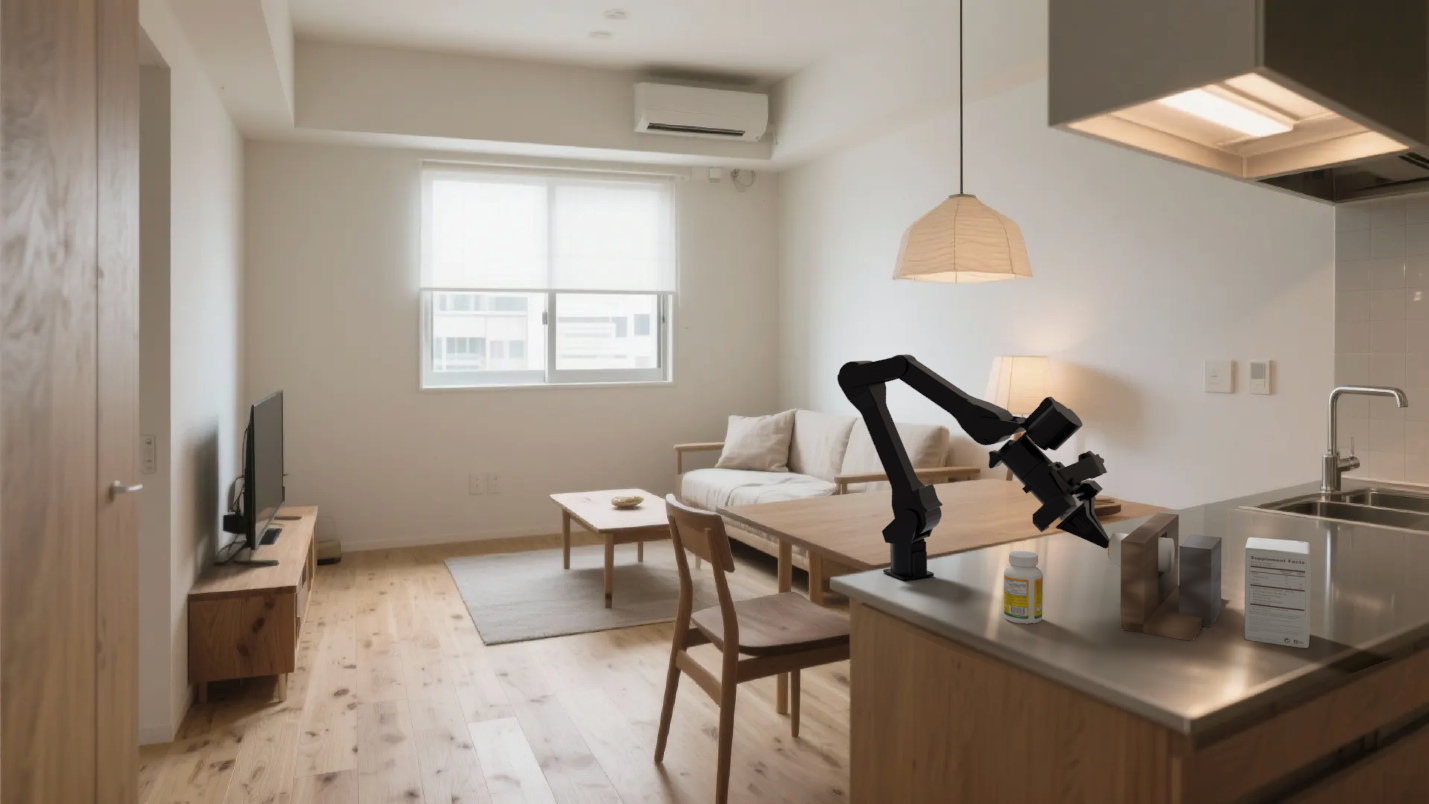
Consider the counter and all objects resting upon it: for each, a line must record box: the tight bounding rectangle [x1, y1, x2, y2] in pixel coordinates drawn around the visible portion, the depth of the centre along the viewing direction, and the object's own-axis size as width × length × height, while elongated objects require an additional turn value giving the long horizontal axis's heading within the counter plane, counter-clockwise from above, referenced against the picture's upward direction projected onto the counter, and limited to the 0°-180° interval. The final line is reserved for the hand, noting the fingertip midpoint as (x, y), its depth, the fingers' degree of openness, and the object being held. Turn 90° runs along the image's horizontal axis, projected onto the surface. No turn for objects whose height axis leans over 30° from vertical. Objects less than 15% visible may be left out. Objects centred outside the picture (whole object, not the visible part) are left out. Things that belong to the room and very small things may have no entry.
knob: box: [1107, 532, 1175, 573], centre depth 135 cm, size 8×5×5 cm, turn 53°
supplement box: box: [1244, 536, 1311, 649], centre depth 121 cm, size 7×7×13 cm
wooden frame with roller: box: [1120, 512, 1223, 642], centre depth 132 cm, size 10×24×12 cm, turn 143°
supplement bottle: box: [1003, 550, 1044, 625], centre depth 131 cm, size 5×5×10 cm
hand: (1109, 546), depth 137 cm, fingers closed, pressing on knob
